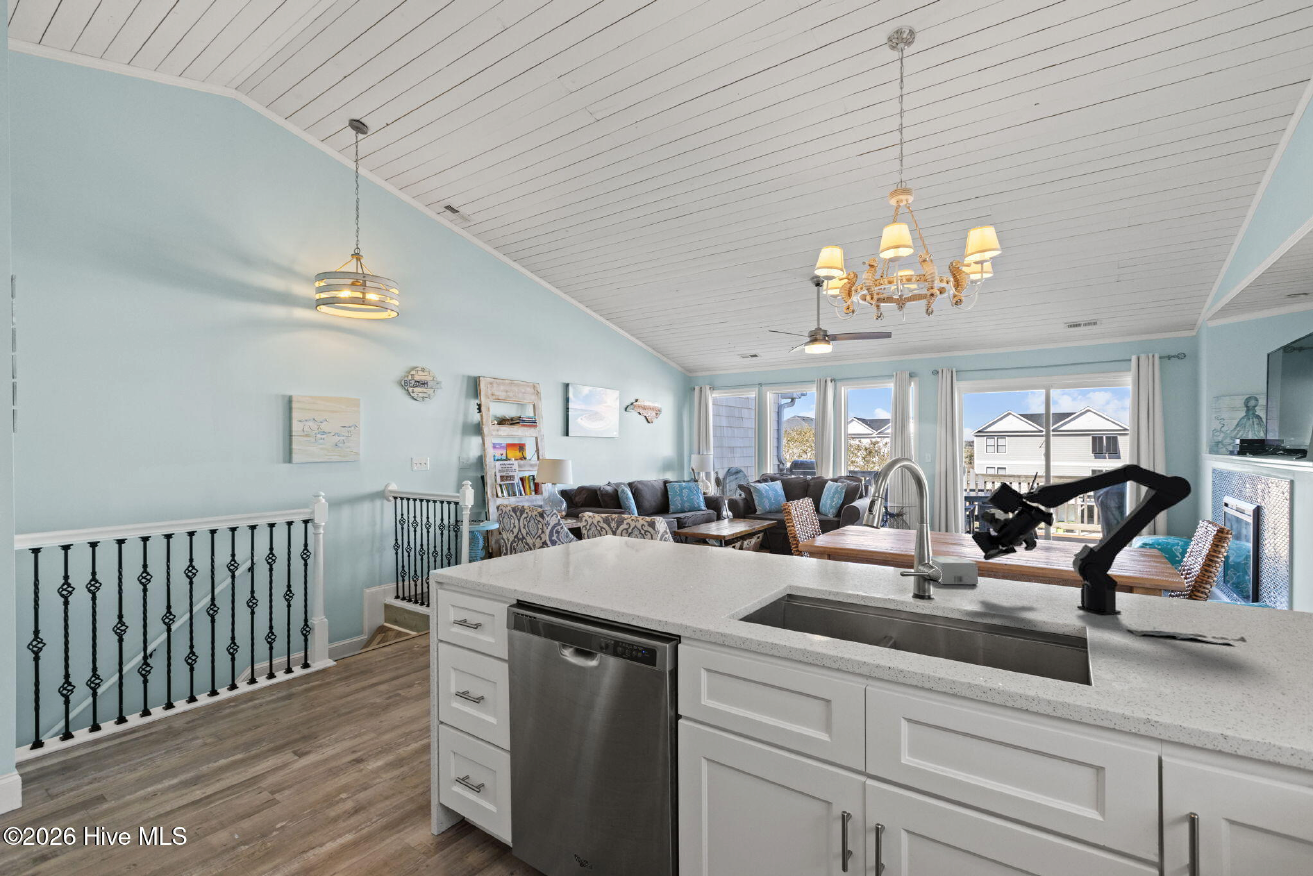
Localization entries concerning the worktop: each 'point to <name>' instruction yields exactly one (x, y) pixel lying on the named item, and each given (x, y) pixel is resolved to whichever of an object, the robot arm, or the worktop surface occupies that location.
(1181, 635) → the driftwood
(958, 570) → the light bulb box
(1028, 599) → the worktop surface
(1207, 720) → the worktop surface
